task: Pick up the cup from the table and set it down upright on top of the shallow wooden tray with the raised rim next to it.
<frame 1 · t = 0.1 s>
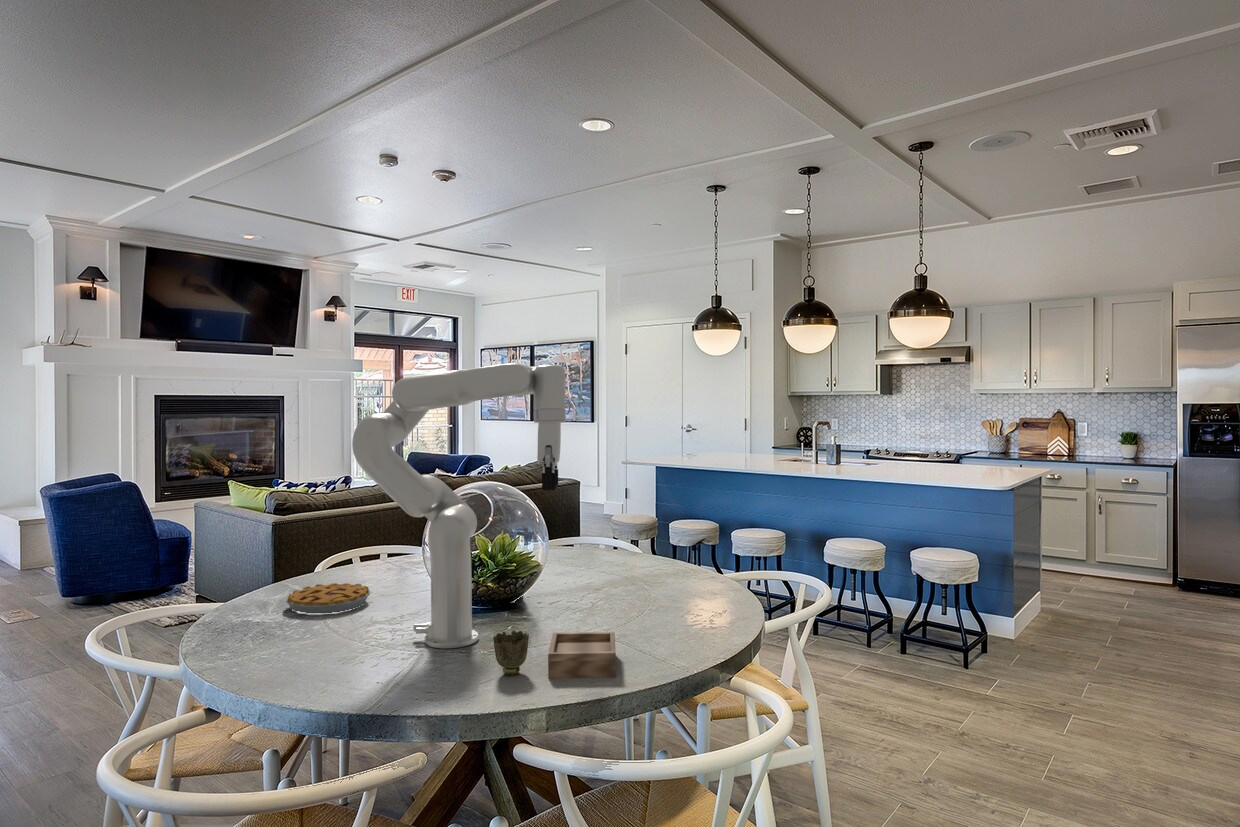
hand: (550, 487, 177), 37 cm above the table, tool pointing down, fingers open, 9 cm apart
supplement bottle: (511, 601, 212), on the table
shallow wooden tray: (583, 667, 159), on the table
pie: (329, 607, 208), on the table
cup: (511, 674, 155), on the table
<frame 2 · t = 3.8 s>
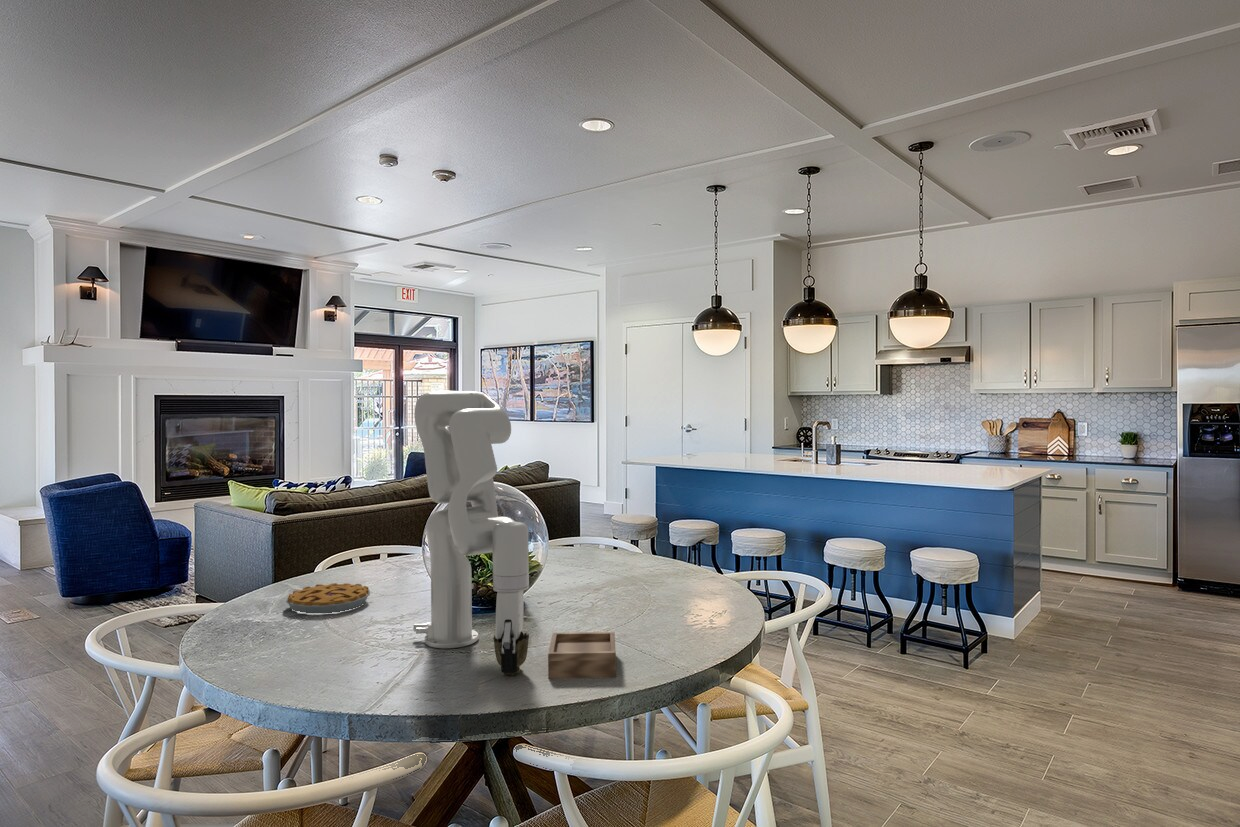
hand: (511, 665, 155), 2 cm above the table, tool pointing down, fingers closed on cup, 6 cm apart
cup: (511, 674, 155), on the table, touching gripper
everything else where it was.
when the fingers open (6 cm above the table, at t = 11.5 s): cup stays where it is, resting on shallow wooden tray.
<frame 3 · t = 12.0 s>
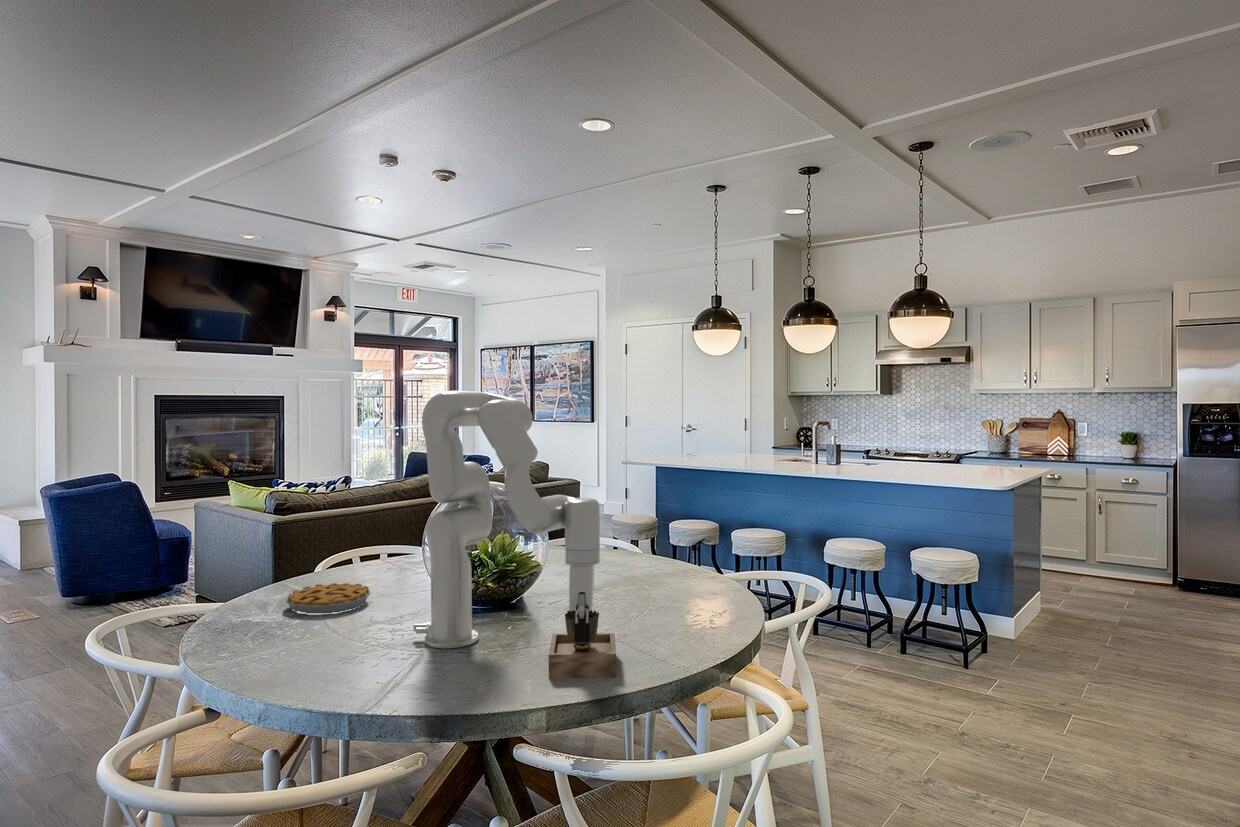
hand: (582, 634, 159), 7 cm above the table, tool pointing down, fingers open, 9 cm apart
shallow wooden tray: (583, 668, 159), on the table, touching cup
cup: (582, 650, 160), point 3 cm above the table, touching shallow wooden tray
everything else where it was.
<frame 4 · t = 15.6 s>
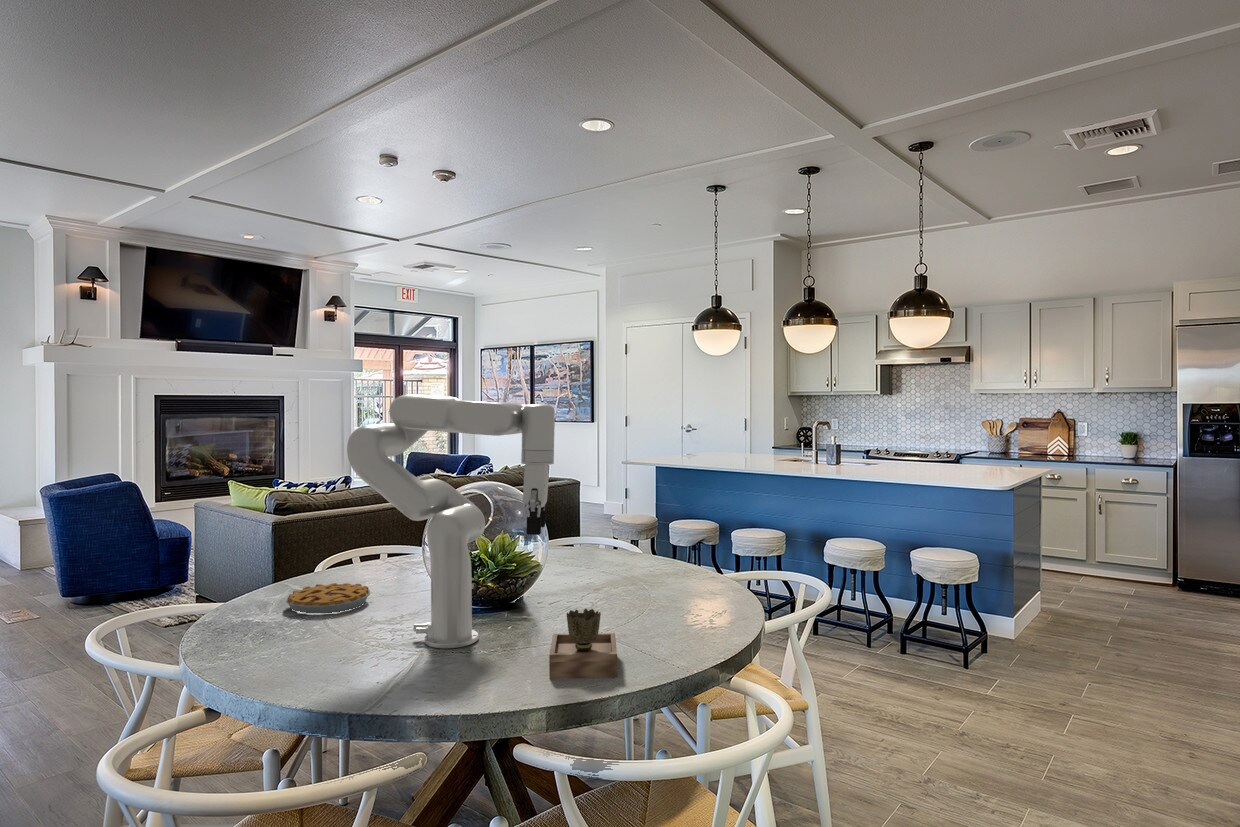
hand: (536, 530, 171), 27 cm above the table, tool pointing down, fingers open, 9 cm apart
nothing on the table moved.
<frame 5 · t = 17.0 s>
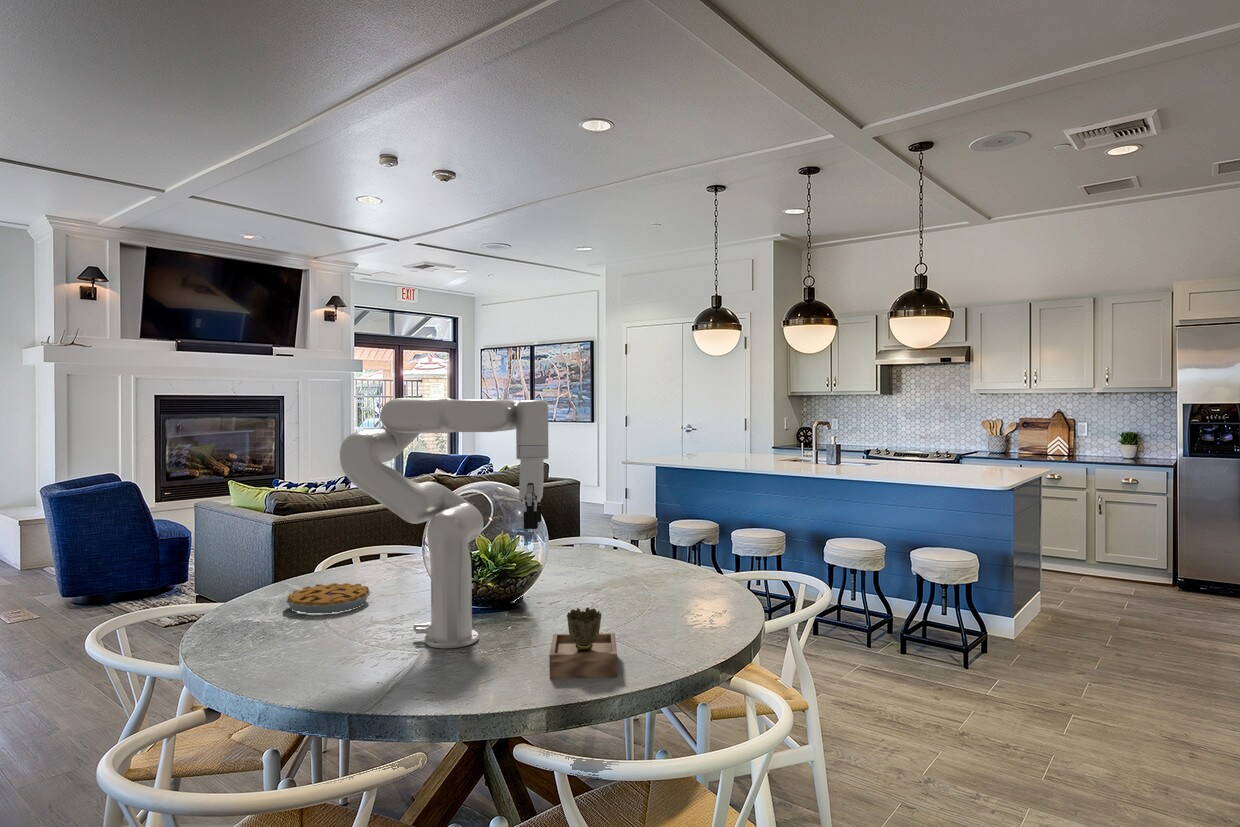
hand: (532, 525, 173), 28 cm above the table, tool pointing down, fingers open, 9 cm apart
at the end: cup inside the target area on the shallow wooden tray (0.1 cm from its centre), point 4.0 cm above the shallow wooden tray's base; cup tilted 6°; the gripper is holding nothing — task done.
